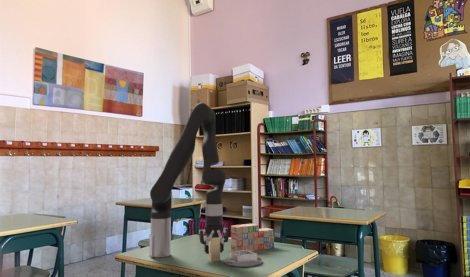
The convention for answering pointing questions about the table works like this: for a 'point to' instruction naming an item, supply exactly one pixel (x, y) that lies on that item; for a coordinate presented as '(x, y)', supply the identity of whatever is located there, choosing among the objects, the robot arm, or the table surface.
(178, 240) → the table surface
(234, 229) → the stack of blocks
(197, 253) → the table surface
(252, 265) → the gray round dish
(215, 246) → the wooden block
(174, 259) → the table surface
